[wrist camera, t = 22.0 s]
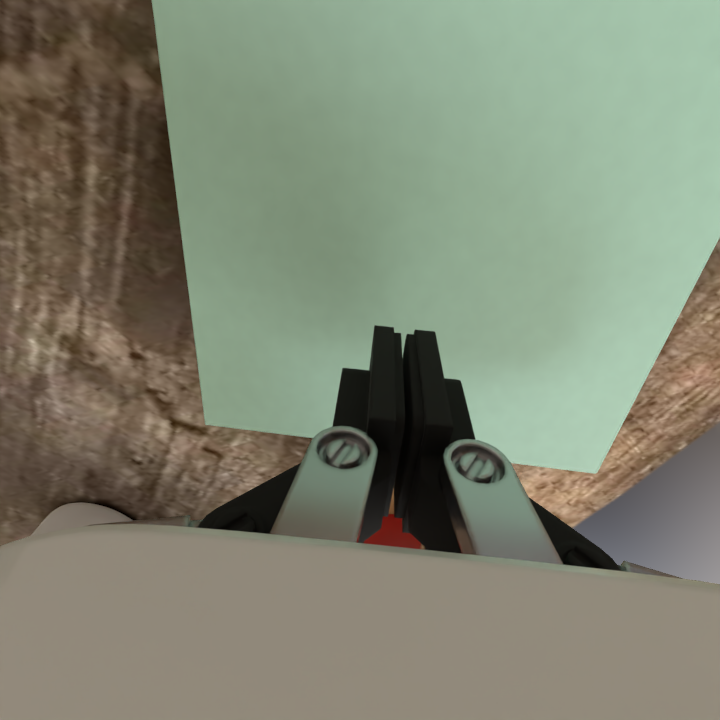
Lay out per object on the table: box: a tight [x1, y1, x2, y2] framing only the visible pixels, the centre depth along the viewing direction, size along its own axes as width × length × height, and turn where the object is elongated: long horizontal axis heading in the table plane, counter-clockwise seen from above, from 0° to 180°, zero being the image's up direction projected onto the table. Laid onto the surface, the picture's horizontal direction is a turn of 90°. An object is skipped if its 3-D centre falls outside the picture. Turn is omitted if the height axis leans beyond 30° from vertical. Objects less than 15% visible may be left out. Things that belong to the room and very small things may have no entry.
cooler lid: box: [152, 0, 720, 473], centre depth 13 cm, size 18×16×1 cm
